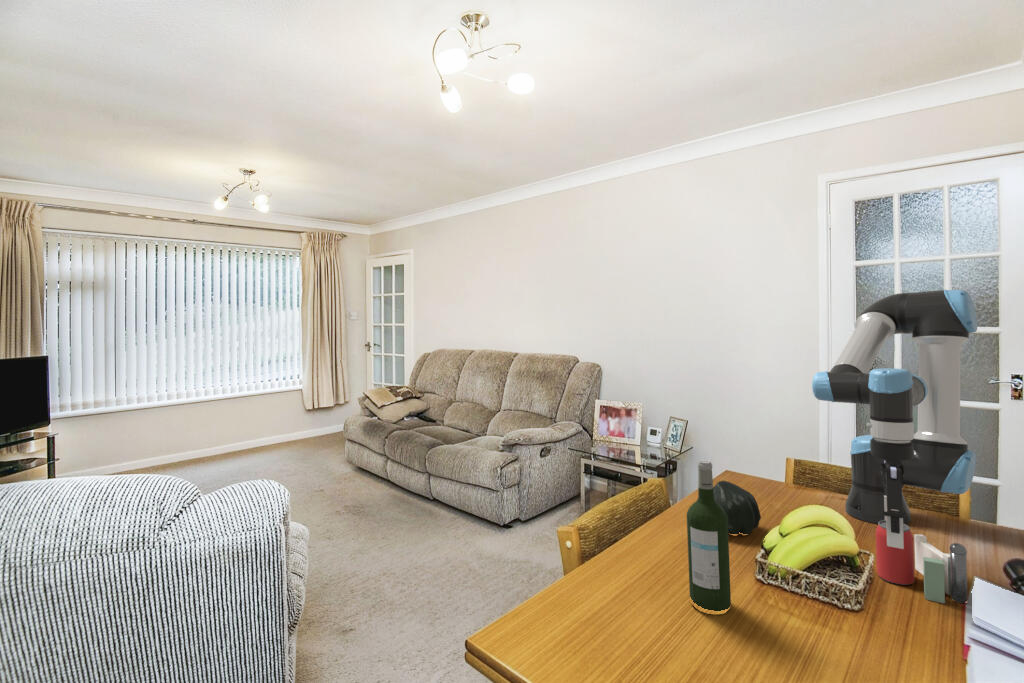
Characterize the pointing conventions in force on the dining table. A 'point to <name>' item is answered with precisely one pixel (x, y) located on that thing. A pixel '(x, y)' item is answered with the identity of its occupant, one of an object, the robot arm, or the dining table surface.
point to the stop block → (934, 579)
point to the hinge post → (958, 572)
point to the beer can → (895, 556)
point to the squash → (737, 507)
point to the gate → (931, 552)
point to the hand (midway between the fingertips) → (893, 535)
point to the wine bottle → (708, 546)
